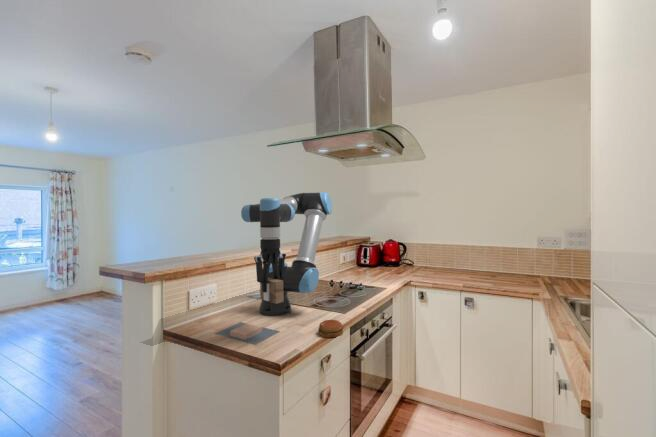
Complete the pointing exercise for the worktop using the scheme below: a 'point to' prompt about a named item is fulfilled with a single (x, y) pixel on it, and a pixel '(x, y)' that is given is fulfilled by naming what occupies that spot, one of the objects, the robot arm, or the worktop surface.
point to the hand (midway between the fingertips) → (271, 298)
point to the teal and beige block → (245, 331)
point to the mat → (253, 340)
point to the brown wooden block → (271, 291)
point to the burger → (330, 328)
